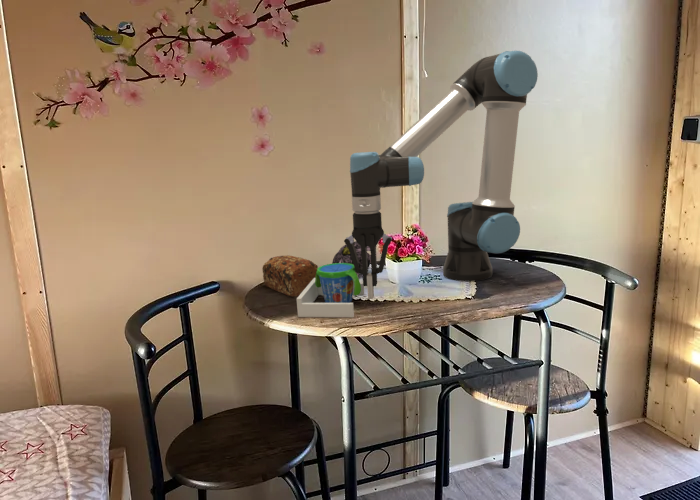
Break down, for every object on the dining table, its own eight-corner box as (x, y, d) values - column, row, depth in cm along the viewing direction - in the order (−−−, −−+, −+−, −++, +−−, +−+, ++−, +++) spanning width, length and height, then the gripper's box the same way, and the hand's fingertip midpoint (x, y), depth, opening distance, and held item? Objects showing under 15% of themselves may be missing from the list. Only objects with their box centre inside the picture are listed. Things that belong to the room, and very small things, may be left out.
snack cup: (306, 301, 154) (303, 266, 152) (335, 292, 161) (333, 259, 159) (341, 313, 143) (339, 276, 140) (371, 303, 149) (369, 267, 147)
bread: (321, 291, 163) (319, 259, 161) (290, 299, 158) (287, 266, 156) (292, 279, 179) (289, 249, 176) (262, 286, 173) (259, 255, 171)
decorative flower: (317, 247, 178) (354, 228, 184) (323, 275, 185) (358, 255, 191) (343, 266, 168) (381, 245, 174) (348, 295, 174) (385, 273, 181)
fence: (364, 293, 158) (363, 277, 157) (353, 317, 139) (352, 298, 138) (315, 294, 161) (314, 277, 160) (298, 317, 142) (296, 298, 141)
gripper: (340, 214, 141) (345, 301, 146) (389, 213, 139) (393, 301, 144) (345, 210, 148) (349, 293, 154) (392, 208, 146) (395, 293, 151)
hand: (370, 297), depth 149 cm, fingers closed
